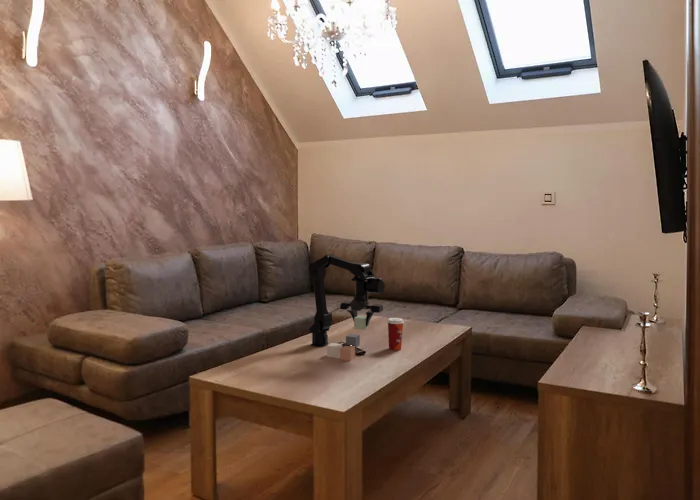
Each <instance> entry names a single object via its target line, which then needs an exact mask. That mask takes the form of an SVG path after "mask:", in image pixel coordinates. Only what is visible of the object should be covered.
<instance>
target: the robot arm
mask: <svg viewBox="0 0 700 500" xmlns="http://www.w3.org/2000/svg"><path fill="white" fill-rule="evenodd" d="M331 265H332V266H335V267H336V268H337V267H338V268H341V269H343V270H346V271H348V272H349V273H350V274H352V275H353V278H352V279H351V280H350V281H351V282H355V286H354V287H355V290H354V292H355V293H354V294H353V299H352V300H351V301H347V300H345V301H343V302H341V303H340V304H339V305H340V306H339V308H340V310H345V311H346V312H348V313H349V314H350V316H351V318H352V320H353V322H354V318H355V317H357V316H358V312H360V311H362V310H367V311H366V312H365V316H367V317H366V327H367V326H368V327H369V324H370V321H371V319H372V317H373V315H374V314H375V313H376V314H377V313H378V314H379V313H381V312H383V311H384V305H383V304H382V303H374V304H371V305H370V302H369V296H370V294H378V295H382V294H383V293H384V291H385V288H386V287H385V286H386V285H385V283H384V281H383V278H382V277H376V276H375V274H374V273H373V271H372V269H371V266H370V264H369V263H367V262H360V261H359V262H358V261H357V262H356V261H351V260H349V259H345V258H343V257H339V256H337V255H334V254H325V255H324V256H323V257H321V258H319V259H317V260H315V261H311V262H310V263H309V264H308V266H307V269H308V270H307V271H308V274H309V277H310V278H311V280H312V282H313V291H314V298H315V299H314V300H315V309H316V312H315V314H314V317H313V324H312V325H311V326H310V327H309V333H310V334H311V335H312V336H311V342H312V343H310V346H314V347H320V348H321V347H325V346H328V345H329V342H328V341H329V337H328V331H330V328H331V326H332V324H333V322H334V321H333V314H332V312H331V313H329V311H328V308H327V299H326V298H327V297H326V291H325V289H326V288H325V278H326V274H327V268H329V267H330V266H331Z"/></svg>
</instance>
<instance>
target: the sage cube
mask: <svg viewBox="0 0 700 500" xmlns="http://www.w3.org/2000/svg"><path fill="white" fill-rule="evenodd" d="M366 317H367V315H357V317H355V318H354V321H353V329H355V330H362V331H363V330H364V331H365V330H366V329H369V325H368V326H367V327H366Z"/></svg>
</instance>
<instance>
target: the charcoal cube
mask: <svg viewBox="0 0 700 500" xmlns="http://www.w3.org/2000/svg"><path fill="white" fill-rule="evenodd" d="M360 338H361V337H360V334H354V333H349V334H347V335H346V336H345V344H346V343H347V344H349V345H352V346H355V347H356V348H357V347H359V346H360V341H361V339H360Z"/></svg>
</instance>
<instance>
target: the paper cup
mask: <svg viewBox="0 0 700 500" xmlns="http://www.w3.org/2000/svg"><path fill="white" fill-rule="evenodd" d="M404 323H405V321H404V319H403V318H401V317H390V318H388V319H387V332H388V335H387V336H388V350H390V351H394V352H395V351H400V350H402V343H403V331H404Z"/></svg>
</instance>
